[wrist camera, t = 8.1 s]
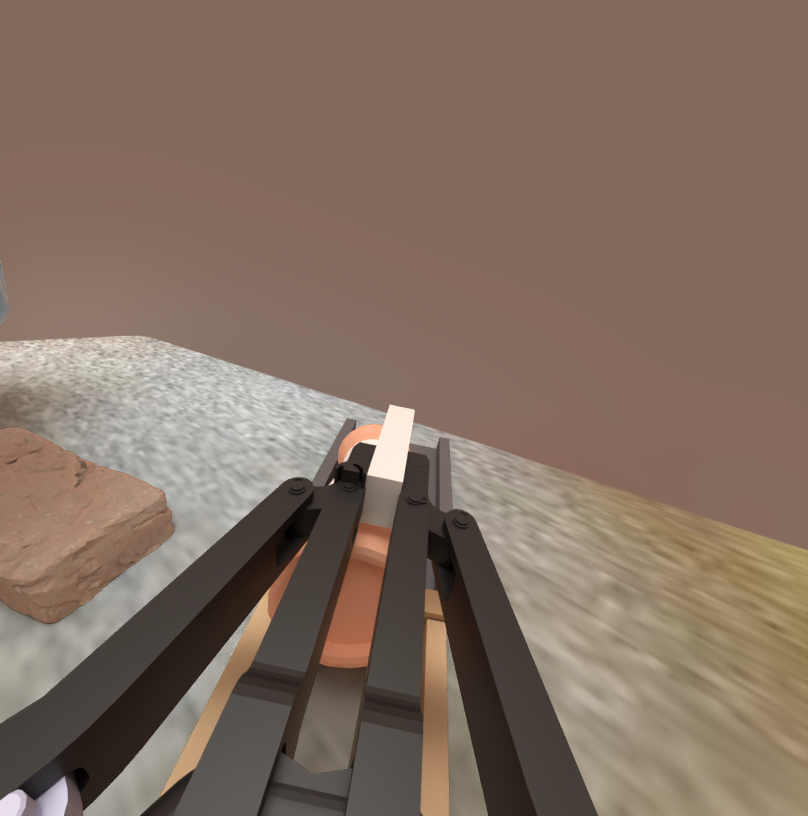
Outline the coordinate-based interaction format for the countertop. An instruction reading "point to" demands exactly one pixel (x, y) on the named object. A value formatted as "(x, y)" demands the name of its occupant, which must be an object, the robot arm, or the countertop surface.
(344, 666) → the salt shaker
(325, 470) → the grey tray
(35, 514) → the brick
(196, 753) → the oak cradle
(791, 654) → the countertop surface
